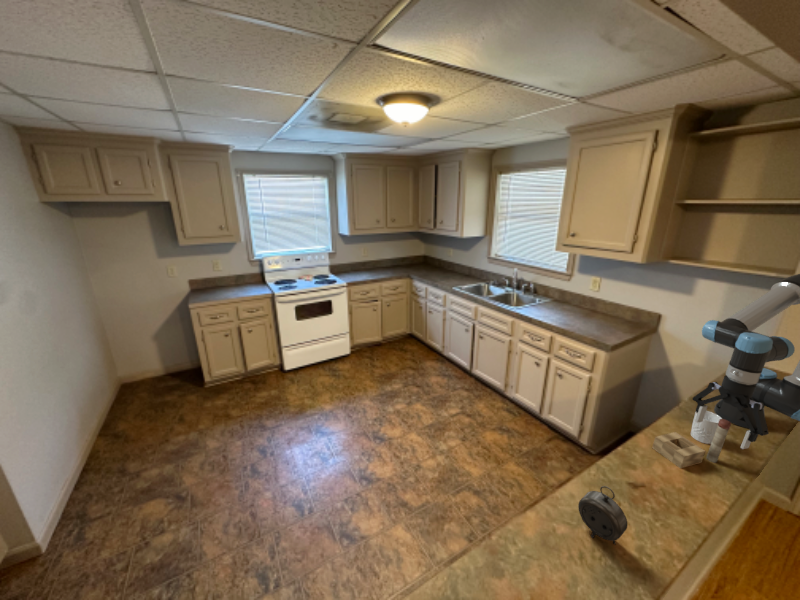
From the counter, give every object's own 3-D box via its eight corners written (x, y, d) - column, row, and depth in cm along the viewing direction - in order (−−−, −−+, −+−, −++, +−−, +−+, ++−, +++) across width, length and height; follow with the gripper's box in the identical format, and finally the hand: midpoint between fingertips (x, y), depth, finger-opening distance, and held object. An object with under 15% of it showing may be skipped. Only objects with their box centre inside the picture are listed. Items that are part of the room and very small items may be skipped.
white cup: (720, 446, 124) (728, 424, 121) (696, 443, 126) (704, 421, 123) (706, 432, 131) (714, 411, 128) (683, 429, 133) (690, 408, 130)
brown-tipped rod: (709, 455, 120) (723, 418, 115) (719, 461, 117) (733, 423, 112) (704, 457, 119) (717, 419, 114) (713, 463, 116) (727, 425, 111)
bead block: (672, 442, 126) (675, 431, 124) (701, 462, 117) (705, 450, 115) (652, 447, 123) (655, 436, 122) (680, 468, 114) (684, 456, 112)
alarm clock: (622, 544, 89) (636, 497, 84) (613, 556, 86) (626, 508, 81) (581, 513, 97) (591, 469, 92) (571, 523, 94) (581, 478, 89)
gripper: (690, 362, 119) (674, 413, 125) (784, 403, 96) (758, 462, 102) (705, 360, 121) (689, 410, 127) (800, 399, 98) (774, 458, 104)
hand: (720, 434), depth 114 cm, fingers open, 13 cm apart
